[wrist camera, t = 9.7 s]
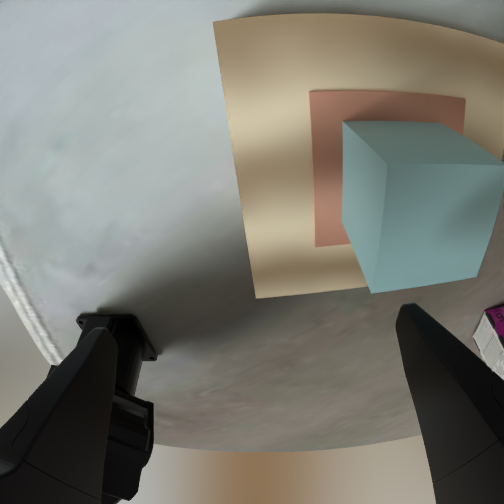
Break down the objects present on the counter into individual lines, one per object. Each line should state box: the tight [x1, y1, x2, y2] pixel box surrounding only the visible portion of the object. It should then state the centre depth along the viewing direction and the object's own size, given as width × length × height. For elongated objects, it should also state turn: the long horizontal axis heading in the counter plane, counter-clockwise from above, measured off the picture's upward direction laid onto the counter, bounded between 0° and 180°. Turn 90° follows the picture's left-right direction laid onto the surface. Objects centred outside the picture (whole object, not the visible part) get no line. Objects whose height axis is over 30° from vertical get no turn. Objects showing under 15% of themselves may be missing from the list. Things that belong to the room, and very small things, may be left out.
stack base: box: [213, 13, 504, 299], centre depth 16 cm, size 16×16×3 cm
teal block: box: [341, 121, 504, 294], centre depth 13 cm, size 6×6×6 cm
